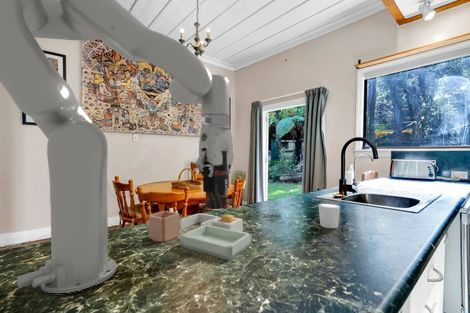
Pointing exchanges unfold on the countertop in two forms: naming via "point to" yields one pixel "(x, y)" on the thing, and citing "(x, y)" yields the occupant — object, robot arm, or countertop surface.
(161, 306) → the countertop surface
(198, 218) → the white recessed tray
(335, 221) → the white tapered cylinder
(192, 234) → the trough
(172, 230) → the cup
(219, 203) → the deodorant
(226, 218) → the button
